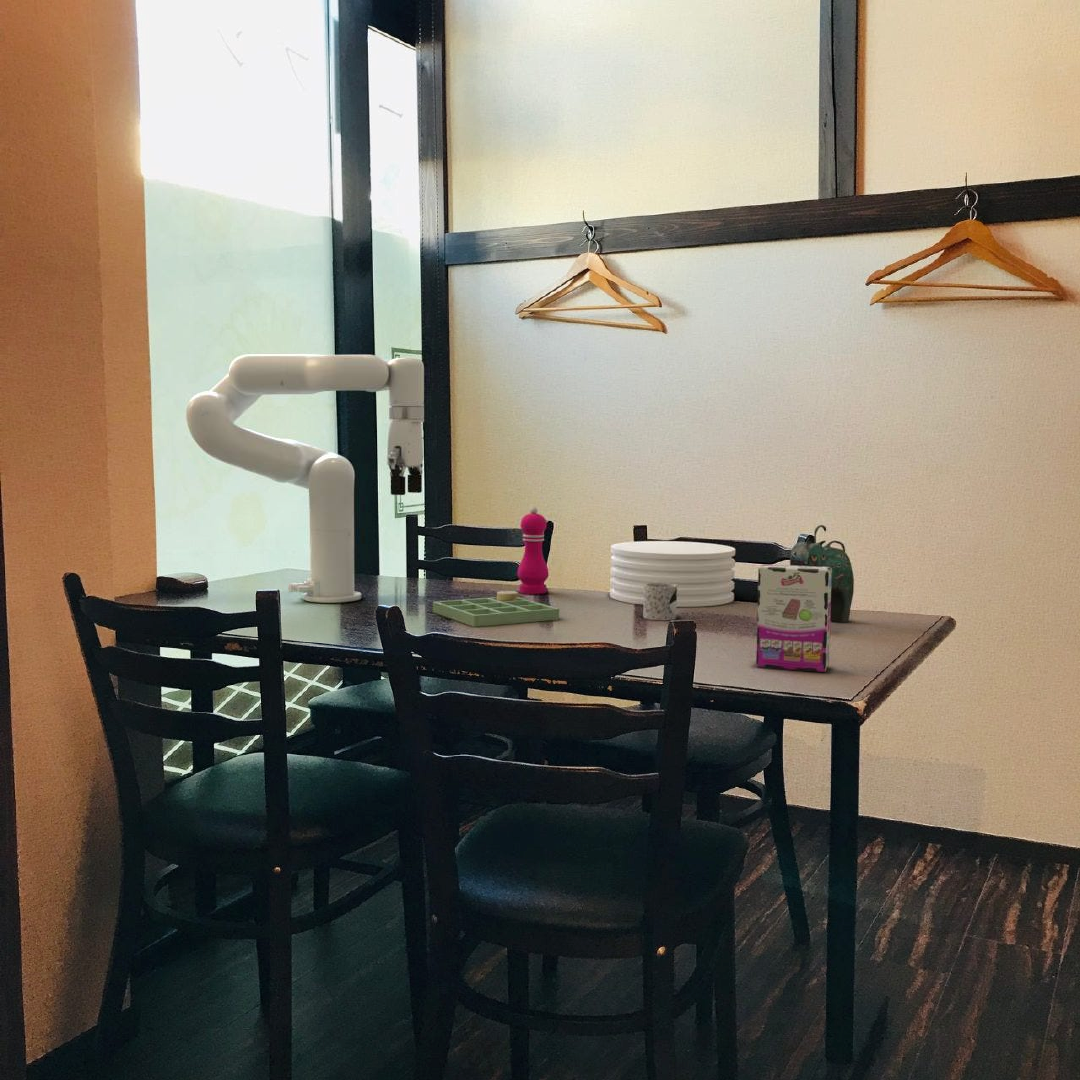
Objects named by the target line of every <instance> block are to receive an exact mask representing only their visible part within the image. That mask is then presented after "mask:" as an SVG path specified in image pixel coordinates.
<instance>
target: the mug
mask: <svg viewBox="0 0 1080 1080" xmlns="http://www.w3.org/2000/svg"><path fill="white" fill-rule="evenodd" d="M676 604H677V585H675V584H670V583H647V584H644V605H642V606H643V607H642V608H643V609H642V610H643V611H642V612H643V613H642V614H643V615H642V616H643V619H646V620H651V621H673V620H676V619H677V607H676Z"/></svg>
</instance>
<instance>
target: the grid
mask: <svg viewBox="0 0 1080 1080" xmlns="http://www.w3.org/2000/svg"><path fill="white" fill-rule="evenodd" d="M432 613H433V614H437V615H440V616H442V617H446V618H448V619H451V620H454V621H456V622H460V623H463V624H465V625H469V626H470V627H473V628H476V627H477V628H478V627H489V626H500V625H512V624H523V623H524V624H525V623H536V622H547V621H558V620H560V608H559V607H555V606H551V605H548V604H544V603H541V602H537V601H535V600H534V601H533V600H530V599H526V598H523V597H519V596H518V601H505V602H501V601H498V600H497V596H493V597H479V598H467V599H466V598H465V599H464V598H463V599H451V600H439V601H437V600H436V601H432Z"/></svg>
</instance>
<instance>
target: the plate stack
mask: <svg viewBox="0 0 1080 1080" xmlns="http://www.w3.org/2000/svg"><path fill="white" fill-rule="evenodd" d="M610 552H611V553H612V554H613V555H611V556H610V564H611V565H613V566H611V567H610V572H609V573H610V576H611V578H610V580H609V585H610V587H612V588H610V590H609V597H610V598H611V599H613V600H616V601H619V602H623V603H628V604H634V605H642V606H644V584H647V583H670V584H675V585H677V604H676V608H695V607H712V606H713V607H715V606H720V605H721V606H722V605H727V604H730V603H732V602H733V601H734V600H735V593H734V592H733V590H734V589H735V581H733V579H734V578H735V577H736V576H735V573H736V572H735V570H734V569H733V568H734V567H735V566H736V560H735V559H734V558H732V557H734V556H736V548H735V547H733V546H730V545H724V544H719V543H709V542H698V541H674V540H643V541H641V540H639V541H625V542H618V543H614V544H611V545H610ZM612 576H613V577H612Z"/></svg>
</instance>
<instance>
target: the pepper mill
mask: <svg viewBox="0 0 1080 1080" xmlns="http://www.w3.org/2000/svg"><path fill="white" fill-rule="evenodd" d="M520 529H521V531H522V532H523V534H522V541H524V552H523V557H522V559H521V561H520V562H519V565H518V568H517V578H518V580H519V581H520V582H521V583H520V584H519V587H518V588H519V593H520V594H523V595H544V594H546V593H547V585H546V584H545V582H546V581H547V580H548V578H549V576H550V575H549V568H548V565H547V562H546V560H545V558H544V554H543V542H544V541H545V538H544V537H545V534H544V532H545V531H546V529H547V520H546V518H545V517H544V515H541V514H540V513H538V507H536V506H531V507H530V508H529V513H527V514H525V515H524V516H523V517H522V518H521V521H520Z"/></svg>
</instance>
